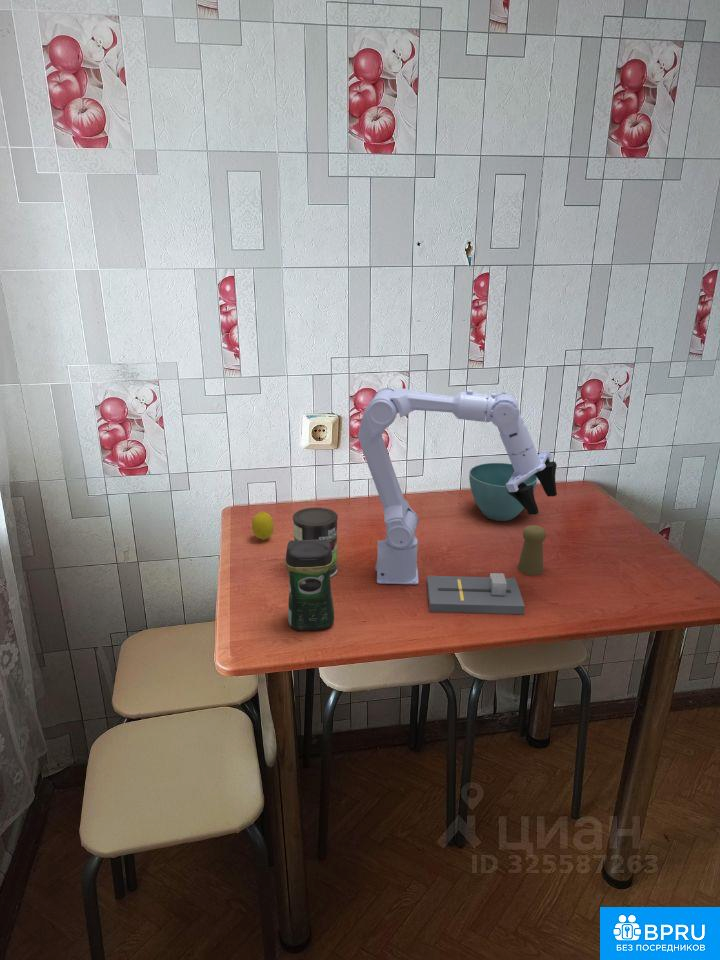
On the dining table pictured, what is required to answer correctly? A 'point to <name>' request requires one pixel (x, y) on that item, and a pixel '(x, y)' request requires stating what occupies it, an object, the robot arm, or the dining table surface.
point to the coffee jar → (309, 584)
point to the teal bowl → (496, 490)
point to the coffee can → (317, 529)
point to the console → (472, 596)
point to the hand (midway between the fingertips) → (543, 504)
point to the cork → (532, 551)
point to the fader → (497, 584)
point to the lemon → (262, 525)
